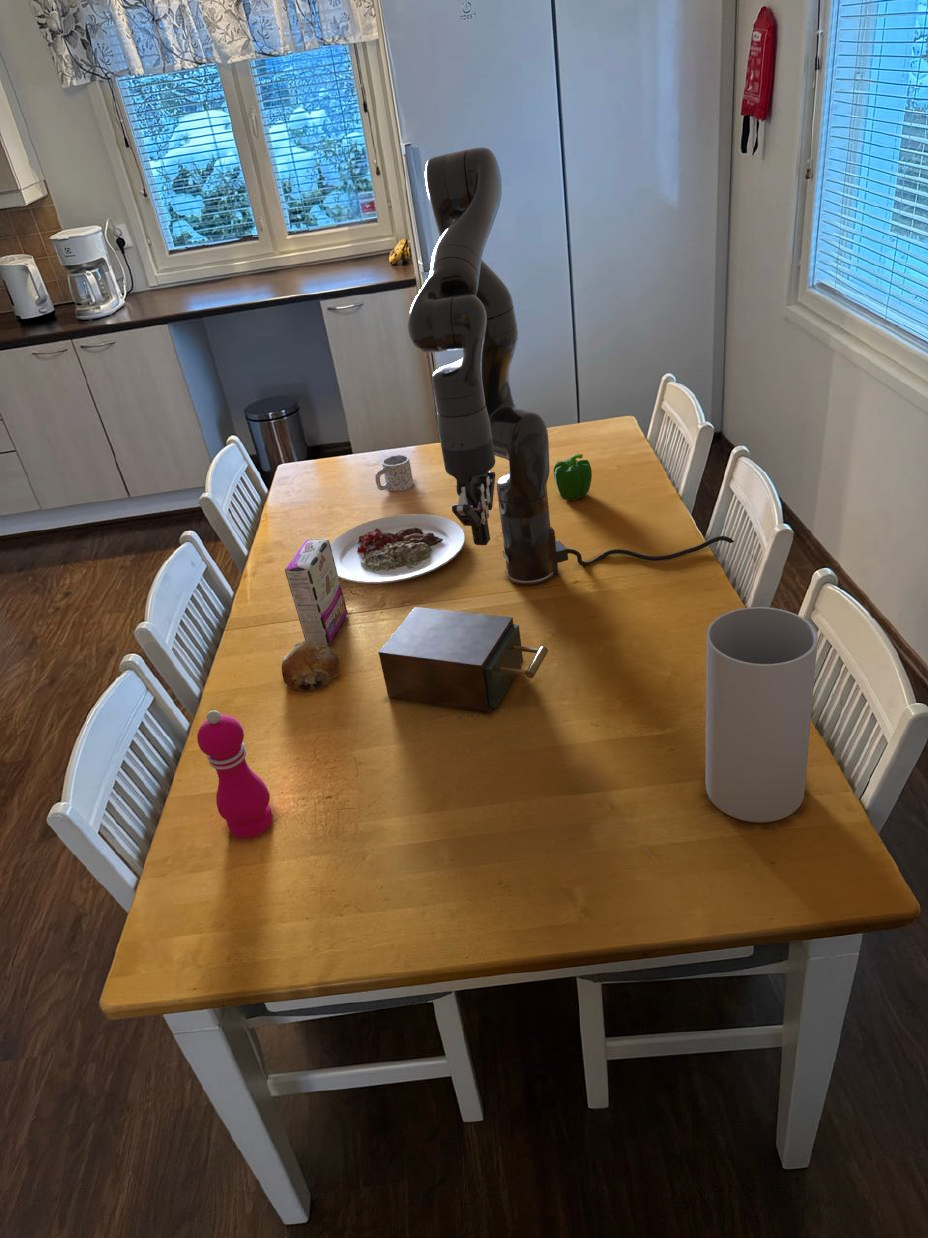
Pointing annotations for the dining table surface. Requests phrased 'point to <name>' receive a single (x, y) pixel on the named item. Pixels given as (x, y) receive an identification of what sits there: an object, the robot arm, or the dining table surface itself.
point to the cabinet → (442, 658)
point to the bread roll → (309, 666)
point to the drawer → (509, 664)
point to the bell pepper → (573, 477)
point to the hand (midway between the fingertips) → (482, 542)
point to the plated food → (396, 548)
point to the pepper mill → (235, 777)
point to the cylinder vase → (758, 711)
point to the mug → (395, 473)
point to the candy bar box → (316, 591)
